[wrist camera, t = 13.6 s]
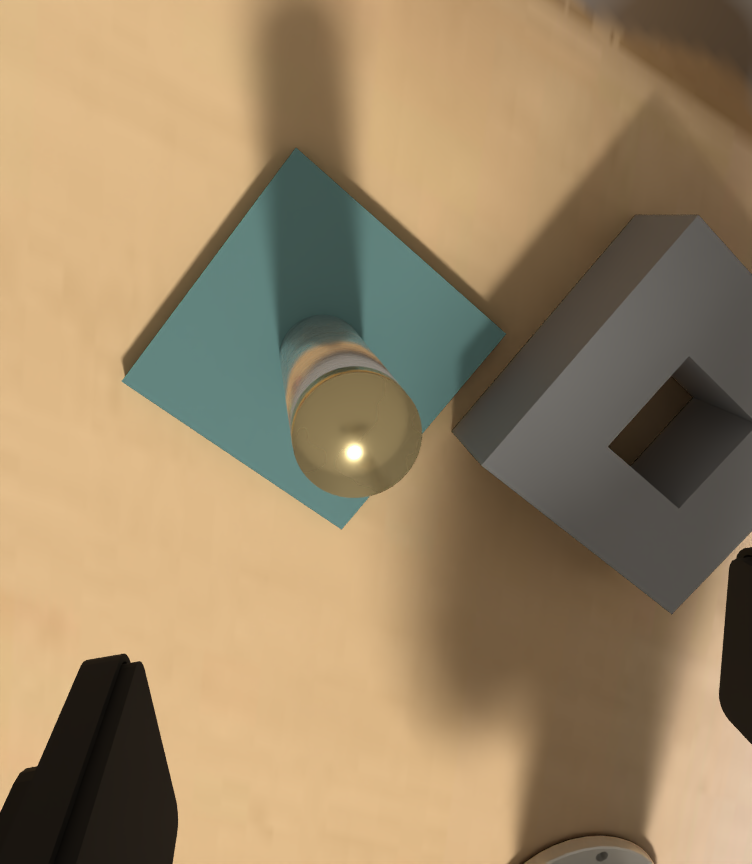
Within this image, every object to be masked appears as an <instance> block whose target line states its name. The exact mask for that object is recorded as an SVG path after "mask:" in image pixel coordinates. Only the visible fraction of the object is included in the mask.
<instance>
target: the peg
mask: <svg viewBox="0 0 752 864" xmlns="http://www.w3.org/2000/svg"><path fill="white" fill-rule="evenodd" d="M280 364H281V371H282V378H283V385H284V391H285V398H286V405H287V412H288V419H289V426H290V433H291V439H292V446H293V451H294V455H295V458H296V461H297V463H298V465H299V467H300V469H301V470H302V472H303V473H304V475H305V476H306V477H307V478H308V479H309V480H310V481H311V482H312V483H313V484H314V485H316V486H317V487H319V488H320V489H322V490H324V491H326V492H328V493H330V494H333V495H336V496H340V497H346V498H361V497H368V496H372V495H375V494H378V493H381V492H383V491H385V490H387V489H389V488H390V487H392V486H393V485H395V484H396V483H397V482H399V481H400V480H401V479H402V478H403V477H404V476H405V475H406V474H407V473H408V471H409V470H410V469H411V467H412V465H413V464H414V462H415V460H416V458H417V456H418V453H419V450H420V446H421V440H422V426H421V420H420V416H419V413H418V410H417V408H416V406H415V404H414V403H413V401H412V399H411V398H410V397H409V396H408V394H407V393H406V392H405V391H404V389H403V388H402V387H401V386H400V385H399V383H398V382H397V381H396V380H395V379H394V377H393V376H392V375H391V374H390V372H389V371H388V370H387V369H386V368H385V366H384V365H383V364H382V363H381V362H380V360H379V359H378V358H377V357H376V355H375V354H374V353H373V352H372V351H371V349H370V348H369V347H368V346H367V345H366V343H365V342H364V341H363V340H362V338H361V337H360V336H359V335H358V334H357V332H356V331H355V330H354V329H353V328H352V327H351V326H350V325H349V324H348V323H346V322H345V321H343V320H341V319H339V318H337V317H334V316H329V315H315V316H311V317H308V318H305V319H303V320H301V321H300V322H298V323H297V324H295V325H294V326H293V327H292V328H291V329H290V330H289V332H288V333H287V334H286V336H285V338H284V340H283V343H282V345H281V350H280Z"/></svg>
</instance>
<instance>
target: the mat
mask: <svg viewBox="0 0 752 864" xmlns="http://www.w3.org/2000/svg"><path fill="white" fill-rule="evenodd" d="M315 315H329V316H334V317H337V318H339V319H341V320H343V321H345V322H346V323H348V324H349V325H350V326H351V327H352V328H353V329H354V330H355V331H356V332H357V334H358V335H359V336H360V337H361V338H362V340H363V341H364V342H365V343H366V345H367V346H368V347H369V348H370V349H371V351H372V352H373V353H374V354H375V355H376V357H377V358H378V359H379V360H380V362H381V363H382V364H383V365H384V366H385V368H386V369H387V370H388V371H389V372H390V374H391V375H392V376H393V377H394V379H395V380H396V381H397V382H398V383H399V385H400V386H401V387H402V388H403V389H404V391H405V392H406V393H407V394H408V396H409V397H410V398H411V399H412V401H413V403H414V404H415V406H416V408H417V410H418V413H419V416H420V420H421V426H422V433H423V432H424V431H425V430H426V429H427V427H428V426H429V425H430V424H431V423H432V422H433V420H434V419H435V418H436V417H437V416H438V414H439V413H440V412H441V411H442V410H443V408H444V407H445V406H446V405H447V404H448V403H449V401H450V400H451V399H452V398H453V397H454V395H455V394H456V393H457V392H458V391H459V389H460V388H461V387H462V386H463V385H464V384H465V382H466V381H467V380H468V379H469V378H470V376H471V375H472V374H473V373H474V372H475V370H476V369H477V368H478V367H479V366H480V365H481V363H482V362H483V361H484V360H485V359H486V357H487V356H488V355H489V354H490V353H491V351H492V350H493V349H494V348H495V347H496V346H497V344H498V343H499V342H500V341H501V340H502V338H503V337H504V336H505V335H506V333H505V332H503V331H502V330H501V329H500V328H499V327H498V326H497V325H496V324H494V323H493V322H492V321H491V320H490V319H489V318H488V317H487V316H485V315H484V314H483V313H482V312H481V311H480V310H479V309H478V308H476V307H475V306H474V305H473V304H472V303H471V302H470V301H468V300H467V299H466V298H465V297H464V296H463V295H462V294H461V293H459V292H458V291H457V290H456V289H455V288H454V287H453V286H452V285H450V284H449V283H448V282H447V281H446V280H445V279H444V278H443V277H441V276H440V275H439V274H438V273H437V272H436V271H435V270H433V269H432V268H431V267H430V266H429V265H428V264H427V263H426V262H424V261H423V260H422V259H421V258H420V257H419V256H418V255H417V254H415V253H414V252H413V251H412V250H411V249H410V248H409V247H408V246H406V245H405V244H404V243H403V242H402V241H401V240H400V239H399V238H397V237H396V236H395V235H394V234H393V233H392V232H391V231H389V230H388V229H387V228H386V227H385V226H384V225H383V224H382V223H380V222H379V221H378V220H377V219H376V218H375V217H374V216H373V215H371V214H370V213H369V212H368V211H367V210H366V209H365V208H364V207H362V206H361V205H360V204H359V203H358V202H357V201H356V200H355V199H353V198H352V197H351V196H350V195H349V194H348V193H347V192H345V191H344V190H343V189H342V188H341V187H340V186H339V185H338V184H336V183H335V182H334V181H333V180H332V179H331V178H330V177H329V176H327V175H326V174H325V173H324V172H323V171H322V170H321V169H320V168H318V167H317V166H316V165H315V164H314V163H313V162H312V161H310V160H309V159H308V158H307V157H306V156H305V155H304V154H303V153H301V152H300V151H299V150H298V149H297V148H295V150H294V151H293V152H292V154H291V155H290V156H289V158H288V159H287V160H286V162H285V163H284V164H283V166H282V167H281V168H280V170H279V171H278V172H277V174H276V175H275V176H274V178H273V179H272V180H271V182H270V183H269V184H268V186H267V187H266V188H265V190H264V191H263V192H262V194H261V195H260V196H259V198H258V199H257V200H256V202H255V203H254V205H253V206H252V207H251V209H250V210H249V211H248V213H247V214H246V215H245V217H244V218H243V219H242V221H241V222H240V223H239V225H238V226H237V227H236V229H235V230H234V231H233V233H232V234H231V235H230V237H229V238H228V239H227V241H226V242H225V243H224V245H223V246H222V247H221V249H220V250H219V251H218V253H217V254H216V255H215V257H214V258H213V260H212V261H211V262H210V264H209V265H208V266H207V268H206V269H205V270H204V272H203V273H202V274H201V276H200V277H199V278H198V280H197V281H196V282H195V284H194V285H193V286H192V288H191V289H190V290H189V292H188V293H187V294H186V296H185V297H184V298H183V300H182V301H181V302H180V304H179V305H178V306H177V308H176V309H175V310H174V312H173V313H172V315H171V316H170V317H169V319H168V320H167V321H166V323H165V324H164V325H163V327H162V328H161V329H160V331H159V332H158V333H157V335H156V336H155V337H154V339H153V340H152V341H151V343H150V344H149V345H148V347H147V348H146V349H145V351H144V352H143V353H142V355H141V356H140V357H139V359H138V360H137V361H136V363H135V364H134V365H133V367H132V368H131V369H130V371H129V372H128V374H127V375H126V376H125V378H124V379H123V380H122V382H123V383H125V384H126V385H128V386H129V387H131V388H132V389H134V390H135V391H137V392H138V393H139V394H141V395H142V396H144V397H145V398H147V399H148V400H150V401H151V402H153V403H154V404H156V405H157V406H159V407H160V408H162V409H163V410H165V411H166V412H168V413H169V414H171V415H172V416H174V417H175V418H177V419H178V420H180V421H181V422H183V423H184V424H186V425H187V426H189V427H190V428H192V429H193V430H194V431H196V432H197V433H199V434H200V435H202V436H203V437H205V438H206V439H208V440H209V441H211V442H212V443H214V444H215V445H217V446H218V447H220V448H221V449H223V450H224V451H226V452H227V453H229V454H230V455H232V456H233V457H235V458H236V459H238V460H239V461H241V462H242V463H244V464H245V465H246V466H248V467H249V468H251V469H252V470H254V471H255V472H257V473H258V474H260V475H261V476H263V477H264V478H266V479H267V480H269V481H270V482H272V483H273V484H275V485H276V486H278V487H279V488H281V489H282V490H284V491H285V492H287V493H288V494H290V495H291V496H293V497H294V498H296V499H297V500H298V501H300V502H301V503H303V504H304V505H306V506H307V507H309V508H310V509H312V510H313V511H315V512H316V513H318V514H319V515H321V516H322V517H324V518H325V519H327V520H328V521H330V522H331V523H333V524H334V525H336V526H337V527H339V528H340V529H342V528H343V527H344V526H345V525H346V524H347V523H348V521H349V520H350V519H351V518H352V517H353V515H354V514H355V513H356V512H357V511H358V509H359V508H360V507H361V506H362V505H363V504H364V502H365V501H366V500H367V499H368V498H369V496H368V497H361V498H346V497H340V496H336V495H333V494H330V493H328V492H326V491H324V490H322V489H320V488H319V487H317V486H316V485H314V484H313V483H312V482H311V481H310V480H309V479H308V478H307V477H306V476H305V475H304V473H303V472H302V470H301V469H300V467H299V465H298V463H297V461H296V458H295V455H294V451H293V446H292V439H291V433H290V426H289V419H288V412H287V405H286V398H285V391H284V385H283V378H282V371H281V364H280V350H281V345H282V343H283V340H284V338H285V336H286V334H287V333H288V332H289V330H290V329H291V328H292V327H293V326H294V325H295V324H297V323H298V322H300V321H301V320H303V319H305V318H308V317H311V316H315Z"/></svg>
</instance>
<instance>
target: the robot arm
mask: <svg viewBox="0 0 752 864" xmlns="http://www.w3.org/2000/svg"><path fill="white" fill-rule="evenodd" d="M719 700H720V704H721V707H722V710H723V712H724V713H725V715H726V717H727V718H728V719H729V721H730V722H731V723H732V724H733V725H734V726H735V727H736V728H737V729H738V730H739V731H740V732H741V733H742V735H743V736H744V737H745V738H746V739H747V740H748V741H749V742H750V743H751V744H752V547H750V548H744V549H742V550H741V551H740V552H739V553H738V555H737V558H736V559H735V560H733V561H732V562H731V564H730V567H729V576H728V589H727V601H726V614H725V626H724V639H723V651H722V663H721V676H720V688H719ZM177 829H178V811H177V803H176V798H175V794H174V790H173V786H172V782H171V778H170V773H169V769H168V765H167V761H166V757H165V752H164V748H163V744H162V740H161V736H160V732H159V727H158V723H157V719H156V715H155V711H154V707H153V702H152V698H151V694H150V690H149V686H148V682H147V677H146V673H145V669H144V666H143V664H142V662H140V661H139V662H133V663H130V659H129V658H128V656H127V655H126V654H119V655H113V656H108V657H102V658H96V659H90V660H86V661H84V662H83V663H82V665H81V667H80V669H79V671H78V674H77V676H76V678H75V681H74V683H73V685H72V687H71V690H70V692H69V694H68V697H67V699H66V701H65V704H64V706H63V708H62V711H61V713H60V715H59V718H58V720H57V722H56V725H55V727H54V729H53V731H52V734H51V736H50V738H49V741H48V743H47V745H46V748H45V750H44V752H43V755H42V757H41V759H40V762H39V764H38V766H37V767H31V768H26V769H25V770H24V771H22V772H21V773H20V774H19V776H18V777H17V779H16V780H15V782H14V784H13V786H12V788H11V790H10V792H9V795H8V797H7V799H6V801H5V803H4V805H3V808H2V810H1V812H0V864H172V863H173V857H174V850H175V843H176V837H177ZM524 864H654V863H653V861H652V859H651V858H650V856H649V855H648V854H647V853H646V852H645V851H644V850H643V849H642V848H641V847H639V846H637V845H636V844H634V843H632V842H630V841H627V840H624V839H621V838H618V837H610V836H585V837H581V838H576V839H571V840H568V841H565V842H562V843H559V844H556V845H554V846H552V847H550V848H548V849H546V850H544V851H542V852H540V853H538V854H537V855H535V856H534V857H532V858H531V859H529V860H528V861H527V862H525V863H524Z"/></svg>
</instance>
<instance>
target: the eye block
mask: <svg viewBox="0 0 752 864" xmlns="http://www.w3.org/2000/svg"><path fill="white" fill-rule="evenodd" d="M671 376H672V377H673V378H674V379H675V380H676V381H677V382H678V383H679V384H680V385H681V386H682V387H683V388H684V389H685V390H686V391H687V392H689V393H690V394H691V395H692V396H693V398H692V399H691V400H690V402H689V403H688V404H687V405H686V406H685V407H684V408H683V409H682V410H681V411H680V413H679V414H678V415H677V416H676V417H675V418H674V419H673V420H672V421H671V422H670V424H669V425H668V426H667V427H666V428H665V429H664V430H663V431H662V432H661V433H660V435H659V436H658V437H657V438H656V439H655V440H654V441H653V442H652V443H651V444H650V446H649V447H648V448H647V449H646V450H645V451H644V452H643V453H642V454H641V455H640V457H639V458H638V459H637V460H636V461H635V462H634V463H633V464H632V465H631V466H629V465H628V464H627V463H626V462H625V461H624V460H622V459H621V458H620V457H619V456H618V455H617V454H615V453H614V452H613V451H612V450H611V449H610V448H609V447H608V446H609V445H610V443H611V442H612V441H613V440H614V439H615V438H616V437H617V436H618V435H619V433H620V432H621V431H622V430H623V429H624V428H625V427H626V426H627V425H628V423H629V422H630V421H631V420H632V419H633V418H634V417H635V416H636V415H637V413H638V412H639V411H640V410H641V409H642V408H643V407H644V406H645V404H646V403H647V402H648V401H649V400H650V399H651V398H652V397H653V396H654V394H655V393H656V392H657V391H658V390H659V389H660V388H661V387H662V386H663V384H664V383H665V382H666V381H667V380H668V379H669V378H670V377H671ZM452 432H453V434H454V435H455V436H456V437H457V438H458V439H459V441H460V442H461V443H462V444H463V445H464V446H465V447H466V449H467V450H468V451H469V452H470V453H471V454H472V455H473V457H474V458H475V459H476V460H477V461H478V462H479V463H480V465H481V466H483V467H484V468H485V469H486V470H488V471H489V472H490V473H492V474H493V475H494V476H495V477H497V478H498V479H499V480H501V481H502V482H503V483H504V484H506V485H507V486H508V487H510V488H511V489H512V490H513V491H515V492H516V493H517V494H518V495H520V496H521V497H522V498H524V499H525V500H526V501H527V502H529V503H530V504H531V505H533V506H534V507H535V508H536V509H538V510H539V511H540V512H542V513H543V514H544V515H545V516H547V517H548V518H549V519H550V520H552V521H553V522H554V523H556V524H557V525H558V526H559V527H561V528H562V529H563V530H565V531H566V532H567V533H568V534H570V535H571V536H572V537H574V538H575V539H576V540H577V541H579V542H580V543H581V544H583V545H584V546H585V547H586V548H588V549H589V550H590V551H591V552H593V553H594V554H595V555H597V556H598V557H599V558H600V559H602V560H603V561H604V562H606V563H607V564H608V565H609V566H611V567H612V568H613V569H615V570H616V571H617V572H618V573H620V574H621V575H622V576H623V577H625V578H626V579H627V580H629V581H630V582H631V583H632V584H634V585H635V586H636V587H638V588H639V589H640V590H641V591H643V592H644V593H645V594H647V595H648V596H649V597H650V598H652V599H653V600H654V601H655V602H657V603H658V604H659V605H661V606H662V607H663V608H664V609H666V610H667V611H668V612H670V613H671V614H673V613H674V612H675V610H676V609H677V608H678V607H679V606H680V605H681V604H682V603H683V602H684V601H685V600H686V599H687V598H688V597H689V596H690V595H691V594H692V593H693V592H694V591H695V590H696V589H697V588H698V587H699V586H700V584H701V583H702V582H703V581H704V580H705V579H706V578H707V577H708V576H709V575H710V574H711V573H712V572H713V571H714V570H715V569H716V568H717V567H718V566H719V565H720V564H721V563H722V562H723V561H724V560H725V559H726V557H727V556H728V555H729V554H730V553H731V552H732V551H733V550H734V549H735V548H736V547H737V546H738V545H739V544H740V543H741V542H742V541H743V540H744V539H745V538H746V537H747V536H748V535H749V534H750V533H751V531H752V274H751V273H750V272H749V271H748V270H747V269H746V268H745V266H744V265H743V264H742V263H741V262H740V261H739V260H738V259H737V257H736V256H735V255H734V254H733V253H732V252H731V251H730V250H729V248H728V247H727V246H726V245H725V244H724V243H723V242H722V241H721V240H720V238H719V237H718V236H717V235H716V234H715V233H714V232H713V231H712V229H711V228H710V227H709V226H708V225H707V224H706V223H705V222H704V221H703V219H702V218H701V217H700V216H699V215H635V216H634V217H633V218H632V220H631V221H630V222H629V223H628V224H627V225H626V227H625V228H624V229H623V230H622V231H621V233H620V234H619V235H618V236H617V237H616V238H615V240H614V241H613V242H612V243H611V244H610V245H609V247H608V248H607V249H606V250H605V251H604V253H603V254H602V255H601V256H600V257H599V258H598V260H597V261H596V262H595V263H594V264H593V265H592V267H591V268H590V269H589V270H588V271H587V273H586V274H585V275H584V276H583V277H582V278H581V280H580V281H579V282H578V283H577V284H576V285H575V287H574V288H573V289H572V290H571V291H570V293H569V294H568V295H567V296H566V297H565V298H564V300H563V301H562V302H561V303H560V304H559V305H558V307H557V308H556V309H555V310H554V311H553V313H552V314H551V315H550V316H549V317H548V318H547V320H546V321H545V322H544V323H543V324H542V325H541V327H540V328H539V329H538V330H537V331H536V333H535V334H534V335H533V336H532V337H531V338H530V340H529V341H528V342H527V343H526V344H525V346H524V347H523V348H522V349H521V350H520V351H519V353H518V354H517V355H516V356H515V357H514V358H513V360H512V361H511V362H510V363H509V364H508V366H507V367H506V368H505V369H504V370H503V371H502V373H501V374H500V375H499V376H498V377H497V378H496V380H495V381H494V382H493V383H492V384H491V386H490V387H489V388H488V389H487V390H486V391H485V393H484V394H483V395H482V396H481V397H480V398H479V400H478V401H477V402H476V403H475V404H474V406H473V407H472V408H471V409H470V410H469V411H468V413H467V414H466V415H465V416H464V417H463V418H462V420H461V421H460V422H459V423H458V424H457V426H456V427H455V428H454V429H453V430H452Z"/></svg>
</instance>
